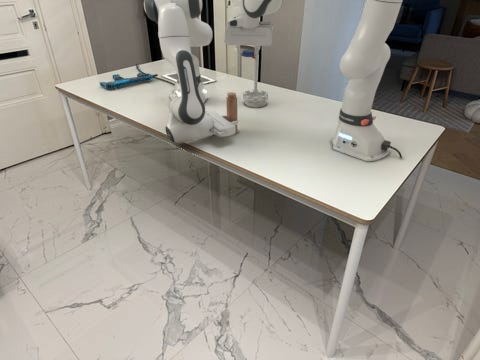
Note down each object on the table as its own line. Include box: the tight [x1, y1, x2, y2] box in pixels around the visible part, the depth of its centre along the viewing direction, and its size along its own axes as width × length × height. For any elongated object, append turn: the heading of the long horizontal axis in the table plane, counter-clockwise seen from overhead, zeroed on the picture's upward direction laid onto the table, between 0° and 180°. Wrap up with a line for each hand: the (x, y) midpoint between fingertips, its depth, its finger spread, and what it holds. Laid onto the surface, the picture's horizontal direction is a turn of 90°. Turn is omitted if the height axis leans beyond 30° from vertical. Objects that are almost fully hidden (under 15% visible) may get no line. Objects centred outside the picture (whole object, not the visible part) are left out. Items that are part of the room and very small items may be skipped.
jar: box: [225, 91, 239, 135], centre depth 144 cm, size 5×5×17 cm
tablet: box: [161, 71, 217, 85], centre depth 215 cm, size 32×20×1 cm, turn 41°
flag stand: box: [242, 46, 269, 108], centre depth 170 cm, size 13×13×30 cm
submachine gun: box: [99, 72, 159, 90], centre depth 210 cm, size 34×4×25 cm
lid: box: [241, 49, 255, 58], centre depth 146 cm, size 5×5×2 cm
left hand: (233, 119), depth 146 cm, fingers closed on jar, 4 cm apart
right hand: (248, 56), depth 147 cm, fingers closed on lid, 5 cm apart
